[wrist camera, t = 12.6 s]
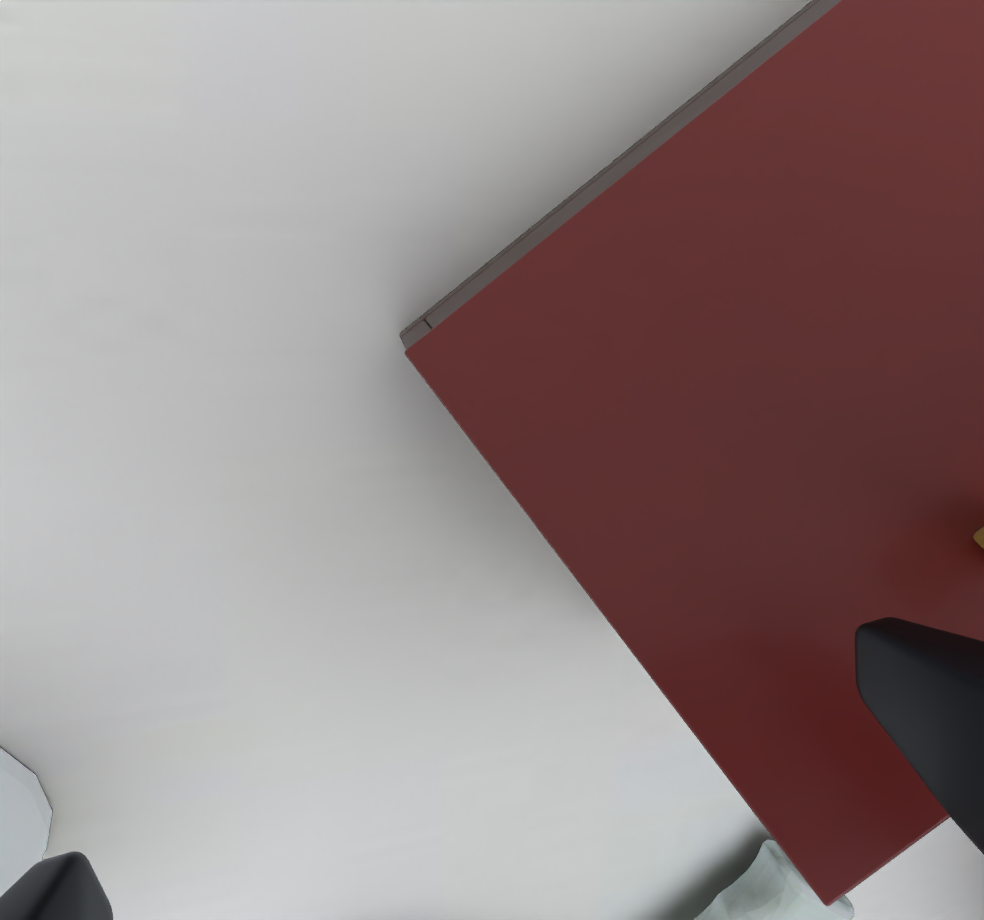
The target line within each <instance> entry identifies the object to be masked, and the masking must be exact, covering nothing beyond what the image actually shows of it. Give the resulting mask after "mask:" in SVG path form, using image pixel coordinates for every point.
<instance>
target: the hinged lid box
mask: <svg viewBox="0 0 984 920" xmlns="http://www.w3.org/2000/svg"><path fill="white" fill-rule="evenodd" d="M839 1H840V0H813V1H811V2H810V3H809V4H808V5H806V6H805V7H804V8H803V9H801V10H800V11H799V12H798V13H796V14H795V15H794V16H793V17H791V18H790V19H789V20H788V21H787V22H785V23H784V24H783V25H782V26H780V27H779V28H778V29H777V30H775V31H774V32H773V33H772V34H770V35H769V36H768V37H767V38H765V39H764V40H763V41H762V42H760V43H759V44H758V45H757V46H756V47H754V48H753V49H752V50H751V51H749V52H748V53H747V54H746V55H744V56H743V57H742V58H741V59H739V60H738V61H737V62H736V63H734V64H733V65H732V66H731V67H729V68H728V69H727V70H726V71H725V72H723V73H722V74H721V75H720V76H718V77H717V78H716V79H715V80H713V81H712V82H711V83H710V84H708V85H707V86H706V87H705V88H703V89H702V90H701V91H700V92H698V93H697V94H696V95H695V96H694V97H692V98H691V99H690V100H689V101H687V102H686V103H685V104H684V105H682V106H681V107H680V108H679V109H677V110H676V111H675V112H674V113H672V114H671V115H670V116H669V117H667V118H666V119H665V120H664V121H663V122H661V123H660V124H659V125H658V126H656V127H655V128H654V129H653V130H651V131H650V132H649V133H648V134H646V135H645V136H644V137H643V138H641V139H640V140H639V141H638V142H636V143H635V144H634V145H633V146H631V147H630V148H629V149H628V150H627V151H625V152H624V153H623V154H622V155H620V156H619V157H618V158H617V159H615V160H614V161H613V162H612V163H610V164H609V165H608V166H607V167H605V168H604V169H603V170H602V171H600V172H599V173H598V174H597V175H596V176H594V177H593V178H592V179H591V180H589V181H588V182H587V183H586V184H584V185H583V186H582V187H581V188H579V189H578V190H577V191H576V192H574V193H573V194H572V195H571V196H569V197H568V198H567V199H566V200H565V201H563V202H562V203H561V204H560V205H558V206H557V207H556V208H555V209H553V210H552V211H551V212H550V213H548V214H547V215H546V216H545V217H543V218H542V219H541V220H540V221H538V222H537V223H536V224H535V225H534V226H532V227H531V228H530V229H529V230H527V231H526V232H525V233H524V234H522V235H521V236H520V237H519V238H517V239H516V240H515V241H514V242H512V243H511V244H510V245H509V246H507V247H506V248H505V249H504V250H503V251H501V252H500V253H499V254H498V255H496V256H495V257H494V258H493V259H491V260H490V261H489V262H488V263H486V264H485V265H484V266H483V267H481V268H480V269H479V270H478V271H476V272H475V273H474V274H473V275H472V276H470V277H469V278H468V279H467V280H465V281H464V282H463V283H462V284H460V285H459V286H458V287H457V288H455V289H454V290H453V291H452V292H450V293H449V294H448V295H447V296H445V297H444V298H443V299H442V300H440V301H439V302H438V303H437V304H436V305H434V306H433V307H432V308H431V309H429V310H428V311H427V312H426V313H424V314H423V315H422V316H421V317H419V318H418V319H417V320H416V321H414V322H413V323H412V324H411V325H409V326H408V327H407V328H406V329H405V330H403V331H402V332H401V333H400V338H401V340H402V342H403V344H404V346H405V349H406V350H407V349H408V348H409V347H410V346H411V345H413V344H414V343H415V342H416V341H418V340H419V339H420V338H421V337H423V336H424V335H425V334H426V333H428V332H429V331H430V330H431V329H433V328H434V327H435V326H436V325H438V324H439V323H440V322H441V321H443V320H444V319H445V318H446V317H448V316H449V315H450V314H451V313H452V312H454V311H455V310H456V309H457V308H459V307H460V306H461V305H462V304H464V303H465V302H466V301H467V300H469V299H470V298H471V297H472V296H474V295H475V294H476V293H477V292H479V291H480V290H481V289H482V288H484V287H485V286H486V285H487V284H489V283H490V282H491V281H492V280H494V279H495V278H496V277H497V276H498V275H500V274H501V273H502V272H503V271H505V270H506V269H507V268H508V267H510V266H511V265H512V264H513V263H515V262H516V261H517V260H518V259H520V258H521V257H522V256H523V255H525V254H526V253H527V252H528V251H530V250H531V249H532V248H533V247H535V246H536V245H537V244H538V243H539V242H541V241H542V240H543V239H544V238H546V237H547V236H548V235H549V234H551V233H552V232H553V231H554V230H556V229H557V228H558V227H559V226H561V225H562V224H563V223H564V222H566V221H567V220H568V219H569V218H571V217H572V216H573V215H574V214H576V213H577V212H578V211H579V210H581V209H582V208H583V207H584V206H585V205H587V204H588V203H589V202H590V201H592V200H593V199H594V198H595V197H597V196H598V195H599V194H600V193H602V192H603V191H604V190H605V189H607V188H608V187H609V186H610V185H612V184H613V183H614V182H615V181H617V180H618V179H619V178H620V177H622V176H623V175H624V174H625V173H626V172H628V171H629V170H630V169H631V168H633V167H634V166H635V165H636V164H638V163H639V162H640V161H641V160H643V159H644V158H645V157H646V156H648V155H649V154H650V153H651V152H653V151H654V150H655V149H656V148H658V147H659V146H660V145H661V144H663V143H664V142H665V141H666V140H668V139H669V138H670V137H671V136H672V135H674V134H675V133H676V132H677V131H679V130H680V129H681V128H682V127H684V126H685V125H686V124H687V123H689V122H690V121H691V120H692V119H694V118H695V117H696V116H697V115H699V114H700V113H701V112H702V111H704V110H705V109H706V108H707V107H709V106H710V105H711V104H712V103H713V102H715V101H716V100H717V99H718V98H720V97H721V96H722V95H723V94H725V93H726V92H727V91H728V90H730V89H731V88H732V87H733V86H735V85H736V84H737V83H738V82H740V81H741V80H742V79H743V78H745V77H746V76H747V75H748V74H750V73H751V72H752V71H753V70H754V69H756V68H757V67H758V66H759V65H761V64H762V63H763V62H764V61H766V60H767V59H768V58H769V57H771V56H772V55H773V54H774V53H776V52H777V51H778V50H779V49H781V48H782V47H783V46H784V45H786V44H787V43H788V42H789V41H791V40H792V39H793V38H794V37H796V36H797V35H798V34H799V33H800V32H802V31H803V30H804V29H805V28H807V27H808V26H809V25H810V24H812V23H813V22H814V21H815V20H817V19H818V18H819V17H820V16H822V15H823V14H824V13H825V12H827V11H828V10H829V9H830V8H832V7H833V6H834V5H835V4H837V3H838V2H839Z"/></svg>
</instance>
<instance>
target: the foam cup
mask: <svg viewBox="0 0 984 920" xmlns="http://www.w3.org/2000/svg"><path fill="white" fill-rule="evenodd" d="M51 818H52V809H51V807H50V805H49V803H48V801H47V798H46V796H45V794H44V792H43V790H42V787H41V785H40V783H39V781H38V779H37V776H36V775H35V774H34V773H33V772H31V771H30V770H29V769H27V768H26V767H25V766H23V765H22V764H21V763H20V762H18V761H17V760H16V759H14V758H13V757H12V756H11V755H9V754H8V753H7V752H5V751H4V750H3V749H1V748H0V897H1V896H2V895H3V894H4V893H5V892H6V891H7V890H8V889H9V888H10V887H11V886H12V885H13V884H14V883H16V882H17V881H18V880H19V879H20V878H21V877H22V876H23V875H24V874H25V873H26V872H27V871H28V870H29V869H30V868H31V867H32V866H33V865H35V864H36V863H38V862H40V861H42V857H43V855H44V853H45V851H46V848H47V842H48V836H49V830H50V824H51Z"/></svg>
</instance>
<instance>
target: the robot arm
mask: <svg viewBox="0 0 984 920" xmlns="http://www.w3.org/2000/svg"><path fill="white" fill-rule="evenodd" d="M855 673H856V685H857V689H858V692H859V694H860V696H861V698H862V700H863V702H864V703H865V705H866V706H867V708H868V709H869V710H870V712H871V713H872V714H873V716H874V717H875V718H876V720H877V721H878V722H879V724H880V725H881V726H882V728H883V729H884V730H885V732H886V733H887V734H888V736H889V737H890V738H891V740H892V741H893V742H894V744H895V745H896V746H897V748H898V749H899V750H900V752H901V753H902V754H903V756H904V757H905V758H906V760H907V761H908V762H909V764H910V765H911V766H912V768H913V769H914V770H915V772H916V773H917V774H918V776H919V777H920V778H921V780H922V781H923V782H924V784H925V785H926V786H927V788H928V789H929V790H930V792H931V793H932V794H933V796H934V797H935V798H936V799H937V801H938V802H939V803H940V804H941V806H942V807H943V808H944V809H945V811H946V812H947V813H948V814H949V816H950V817H951V818H952V819H953V820H954V821H955V823H956V824H957V825H958V826H959V827H960V828H961V829H962V831H963V832H964V833H965V834H966V835H967V836H968V837H969V839H970V840H971V841H972V842H973V843H974V844H975V845H976V846H977V847H978V849H979V850H980V851H981V852H982V853H983V854H984V641H980V640H977V639H973V638H969V637H966V636H962V635H958V634H954V633H951V632H947V631H943V630H940V629H936V628H932V627H928V626H925V625H921V624H917V623H913V622H910V621H906V620H902V619H899V618H894V617H885V618H881V619H878V620H874V621H871V622H868V623H864V624H862V625H860V626H859V627H858V628H857V630H856V632H855ZM0 920H113V913H112V908H111V905H110V902H109V900H108V898H107V896H106V894H105V892H104V890H103V888H102V886H101V884H100V882H99V880H98V878H97V876H96V874H95V872H94V870H93V868H92V866H91V864H90V862H89V861H88V859H87V858H86V856H85V855H83V854H82V853H80V852H69V853H66V854H62V855H59V856H55V857H52V858H49V859H45V860H42V861H40V862H38V863H36V864H35V865H33V866H32V867H31V868H30V869H29V870H28V871H27V872H26V873H25V874H24V875H23V876H22V877H21V878H20V879H19V880H18V881H17V882H16V883H14V884H13V885H12V886H11V887H10V888H9V889H8V890H7V891H6V892H5V893H4V894H3V895H2V896H1V897H0Z"/></svg>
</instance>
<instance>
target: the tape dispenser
mask: <svg viewBox="0 0 984 920" xmlns="http://www.w3.org/2000/svg"><path fill="white" fill-rule="evenodd" d="M853 917H854V908H853V906H852V903H851V902H850V901H849V900H848V898H847V897H846V896H845V895H844V896H842V897H841V898H840V899H838V900H837V901H836V902H834V903H833V904H832V905H830V906H825V905H824V904H823V903H822V902H821V900H820V899H819V898H818V896H817V895H816V894H815V892H814V891H813V890H812V888H811V887H810V886H809V884H808V883H807V882H806V881H805V879H804V878H803V877H802V875H801V874H800V873H799V871H798V870H797V869H796V867H795V866H794V865H793V863H792V862H791V861H790V859H789V858H788V857H787V856H786V854H785V853H784V852H783V850H782V849H781V848H780V846H779V845H778V844H777V842H776V841H774V840H768V839H767V840H766V841H765V842H763V844H762V846H761V848H760V850H759V853H758V855H757V857H756V858H755V860H754V861H753V863H752V864H751V866H750V867H749V868H748V870H747V871H746V872H745V873H743V874H742V875H741V876H740V877H739V878H738V879H737V880H736V881H735V882H734V883H733V884H731V885H730V886H728V887H727V888H726V889H724V890H723V891H721V892H720V893H719V894H718V895H717V896H716V898H715V899H714V900H713V901H712V903H711V904H710V905H709V906H708V907H707V908H706V909H705V910H704V911H703V912H702V913H701V914H700V915H699V916H697V917H696V918H695V919H693V920H851V919H852V918H853Z"/></svg>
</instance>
